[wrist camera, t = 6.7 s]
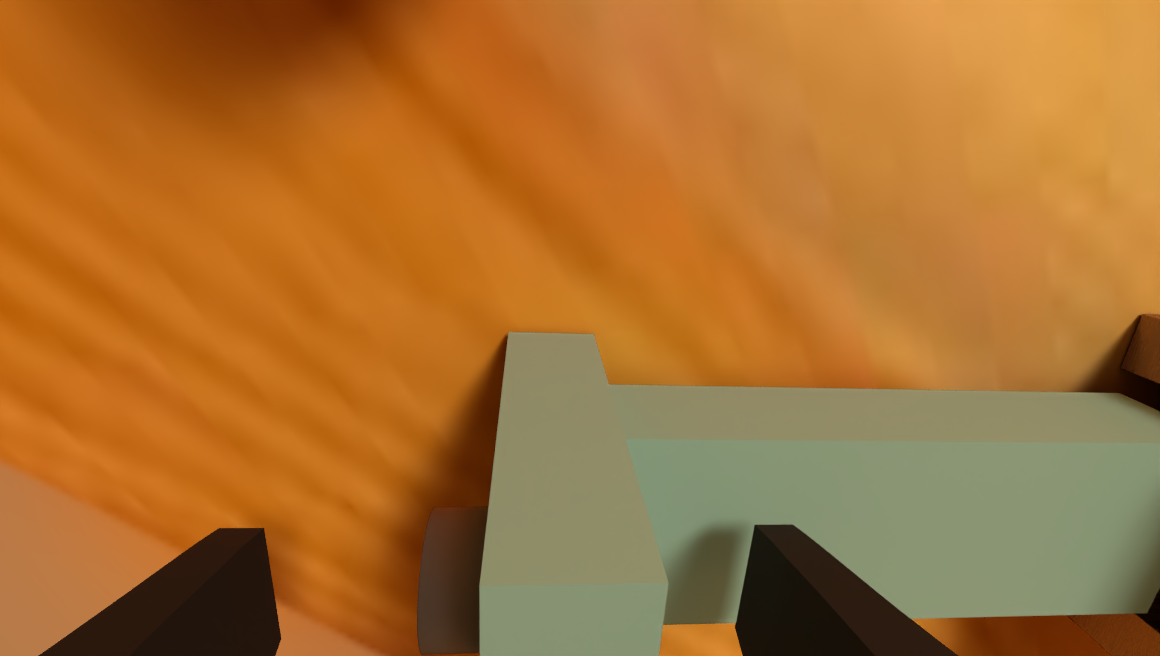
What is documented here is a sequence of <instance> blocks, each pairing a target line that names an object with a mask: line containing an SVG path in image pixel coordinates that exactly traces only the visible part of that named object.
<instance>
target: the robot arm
mask: <svg viewBox="0 0 1160 656" xmlns="http://www.w3.org/2000/svg"><path fill="white" fill-rule="evenodd" d="M735 629H736V633H737V636H738V640H739V643H740V647H741V651H742V654H743V656H958V655H956V654H955V653H954V652H953V651H951V650H950V649H949V648H947V647H946V646H945V645H943V644H942V643H941V642H939V641H938V640H937V639H936V638H934V637H933V636H932V635H930V634H929V633H928V632H927V631H925V630H924V629H923V628H922V627H920V626H919V625H918V624H916V623H915V622H914V621H913V620H911V619H910V618H909V617H908V616H906V615H905V614H904V613H903V612H901V611H900V610H899V609H898V608H896V607H895V606H894V605H893V604H891V603H890V602H889V601H888V600H886V599H885V598H884V597H883V596H882V595H880V594H879V593H878V592H877V591H875V590H874V589H873V588H872V587H870V586H869V585H868V584H867V583H866V582H864V581H863V580H862V579H861V578H859V577H858V576H857V575H856V574H855V573H853V572H852V571H851V570H850V569H848V568H847V567H846V566H845V565H844V564H842V563H841V562H840V561H839V560H837V559H836V558H835V557H834V556H833V555H831V554H830V553H829V552H828V551H826V550H825V549H824V548H823V547H821V546H820V545H819V544H818V543H816V542H815V541H814V540H813V539H811V538H810V537H809V536H808V535H806V534H805V533H804V532H802V531H801V530H800V529H798V528H797V527H796V526H794V525H793V524H781V525H755V526H754V531H753V536H752V541H751V547H750V552H749V557H748V562H747V568H746V573H745V578H744V583H743V588H742V594H741V599H740V604H739V609H738V615H737V620H736V625H735ZM280 640H281V634H280V628H279V622H278V615H277V609H276V602H275V596H274V590H273V583H272V577H271V570H270V564H269V557H268V551H267V545H266V538H265V532H264V528H219V529H217V530H216V531H214V532H213V533H211V534H210V535H208V536H207V537H205V538H204V539H202V540H201V541H199V542H198V543H196V544H195V545H193V546H192V547H191V548H189V549H188V550H186V551H185V552H183V553H182V554H181V555H179V556H178V557H176V558H175V559H174V560H173V561H171V562H170V563H168V564H167V565H165V566H164V567H163V568H161V569H160V570H159V571H157V572H156V573H154V574H153V575H151V576H150V577H149V578H147V579H146V580H144V581H143V582H142V583H140V584H139V585H138V586H136V587H135V588H133V589H132V590H131V591H129V592H128V593H127V594H125V595H124V596H122V597H121V598H119V599H118V600H117V601H116V602H114V603H113V604H111V605H110V606H108V607H107V608H105V609H104V610H103V611H101V612H100V613H98V614H97V615H96V616H94V617H93V618H91V619H90V620H88V621H87V622H86V623H84V624H83V625H81V626H80V627H79V628H77V629H76V630H74V631H73V632H72V633H70V634H69V635H67V636H66V637H65V638H63V639H62V640H60V641H59V642H58V643H56V644H55V645H53V646H52V647H51V648H49V649H48V650H46V651H45V652H43V653H42V654H40V655H39V656H275V655H276V651H277V649H278V646H279V643H280Z"/></svg>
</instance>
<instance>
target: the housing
mask: <svg viewBox="0 0 1160 656" xmlns="http://www.w3.org/2000/svg"><path fill="white" fill-rule="evenodd" d="M1121 368H1122V369H1125V370H1127V371H1130V372H1132V373H1135V374H1137V375H1140V376H1142V377H1144V378H1147V379H1149V380H1152V381H1154V382H1157V383H1159V384H1160V315H1155V314H1142V317H1141V319H1140V322H1139V324H1138V327H1137V329H1136V332H1135V334H1134V337H1133V339H1132V341H1131V344H1130V346H1129V349H1128V351H1127V354H1126V356H1125V359H1124V361H1123V364H1122V366H1121ZM1067 616H1068V617H1069V618H1070V619H1072V620H1073V621H1074V622H1075V623H1076V624H1077V625H1078V626H1079V627H1080V628H1081V629H1083V630H1084V631H1085V632H1086V633H1087V634H1088V635H1089V636H1090V637H1091V638H1092V639H1093V640H1095V641H1096V642H1097V643H1098V644H1099V645H1100V646H1101V647H1102V648H1103V649H1104V650H1106V651H1107V652H1108V653H1109V654H1110V655H1111V656H1160V588H1159V590H1158V592H1157V594H1156V596H1155V598H1154V600H1153V602H1152V604H1151V606H1150V608H1149V610H1148V612H1147V613H1132V614H1091V615H1067Z"/></svg>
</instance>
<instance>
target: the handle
mask: <svg viewBox="0 0 1160 656" xmlns="http://www.w3.org/2000/svg"><path fill="white" fill-rule="evenodd" d="M781 524H793V525H794V526H796V527H797V528H798V529H800V530H801V531H802V532H804V533H805V534H806V535H808V536H809V537H810V538H811V539H813V540H814V541H815V542H816V543H818V544H819V545H820V546H821V547H823V548H824V549H825V550H826V551H828V552H829V553H830V554H831V555H833V556H834V557H835V558H836V559H837V560H839V561H840V562H841V563H842V564H844V565H845V566H846V567H847V568H848V569H850V570H851V571H852V572H853V573H855V574H856V575H857V576H858V577H859V578H861V579H862V580H863V581H864V582H866V583H867V584H868V585H869V586H870V587H872V588H873V589H874V590H875V591H877V592H878V593H879V594H880V595H882V596H883V597H884V598H885V599H886V600H888V601H889V602H890V603H891V604H893V605H894V606H895V607H896V608H898V609H899V610H900V611H901V612H903V613H904V614H905V615H906V616H908V617H909V618H910V619H924V618H965V617H1007V616H1049V615H1091V614H1132V613H1147V612H1148V610H1149V608H1150V606H1151V604H1152V602H1153V600H1154V598H1155V596H1156V594H1157V592H1158V590H1159V588H1160V411H1158V410H1156V409H1154V408H1151V407H1149V406H1147V405H1145V404H1142V403H1140V402H1138V401H1136V400H1134V399H1131V398H1129V397H1127V396H1125V395H1123V394H1120V393H1087V392H1027V391H967V390H908V389H848V388H788V387H728V386H668V385H609V383H608V380H607V376H606V373H605V370H604V366H603V363H602V360H601V356H600V353H599V350H598V346H597V343H596V340H595V336H594V334H571V333H532V332H508V340H507V349H506V358H505V367H504V375H503V384H502V393H501V402H500V411H499V419H498V428H497V437H496V446H495V454H494V463H493V472H492V481H491V490H490V498H489V507H434V508H433V509H432V511H431V514H430V517H429V520H428V524H427V528H426V533H425V538H424V544H423V551H422V558H421V567H420V576H419V589H418V607H417V633H418V644H419V650H420V653H421V654H422V655H426V654H462V653H480V656H659V650H660V643H661V635H662V628H663V625H673V624H715V623H736V620H737V615H738V609H739V604H740V599H741V594H742V588H743V583H744V578H745V573H746V568H747V562H748V557H749V552H750V547H751V541H752V536H753V531H754V526H755V525H781Z"/></svg>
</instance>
